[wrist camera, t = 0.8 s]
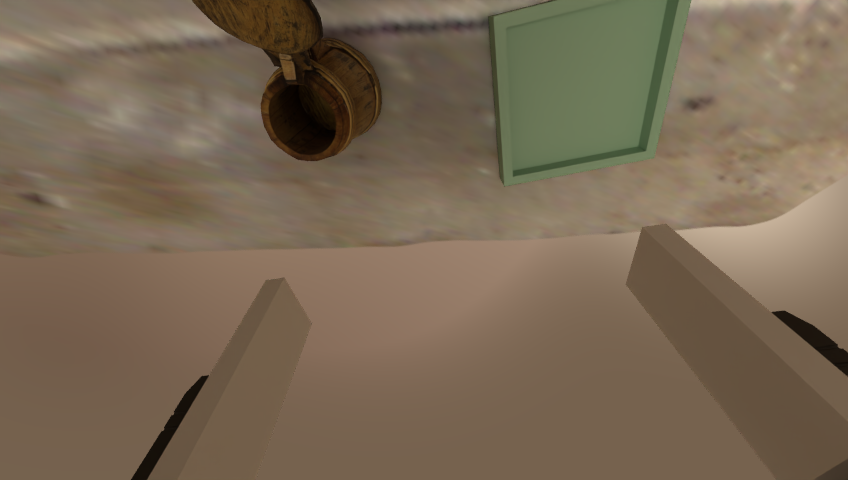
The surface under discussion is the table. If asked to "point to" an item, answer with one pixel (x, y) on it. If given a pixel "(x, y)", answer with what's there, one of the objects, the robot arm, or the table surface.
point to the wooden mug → (303, 75)
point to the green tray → (582, 83)
